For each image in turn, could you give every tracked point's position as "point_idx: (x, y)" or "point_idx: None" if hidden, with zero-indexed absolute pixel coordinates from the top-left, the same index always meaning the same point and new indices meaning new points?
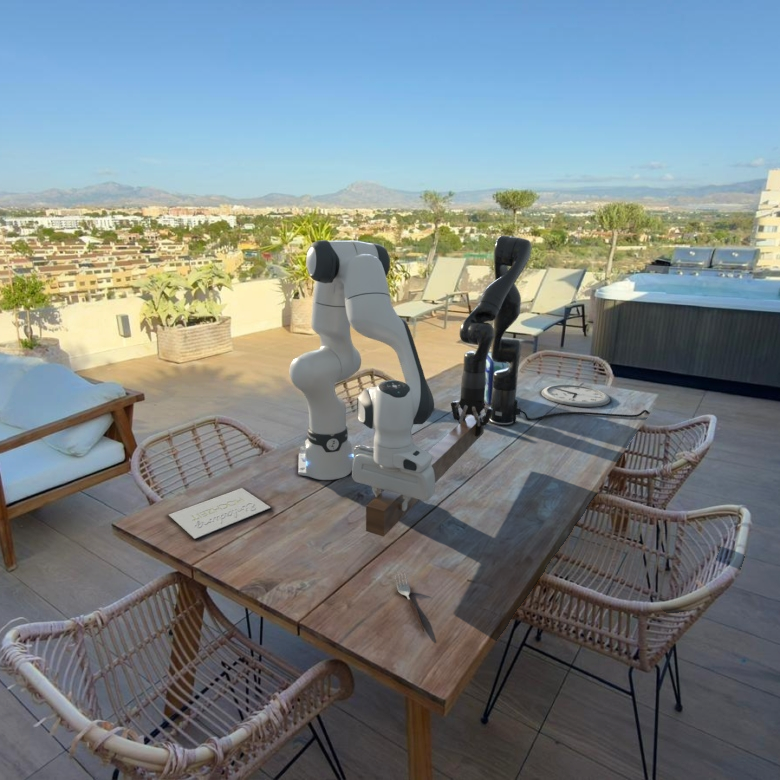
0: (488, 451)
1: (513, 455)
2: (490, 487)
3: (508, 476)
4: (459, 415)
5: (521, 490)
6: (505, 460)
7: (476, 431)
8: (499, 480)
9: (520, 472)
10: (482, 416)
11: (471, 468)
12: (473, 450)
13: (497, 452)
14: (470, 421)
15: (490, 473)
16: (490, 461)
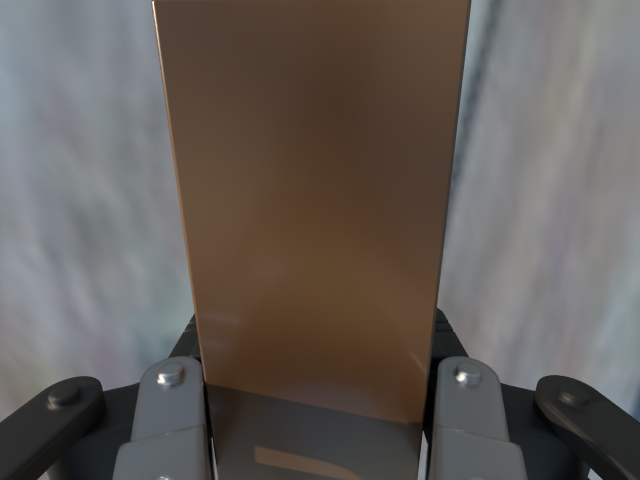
0: None
1: (592, 10)
2: None
3: (571, 319)
4: (82, 414)
5: (634, 409)
6: (541, 131)
7: None
8: (531, 373)
9: (636, 248)
10: (441, 127)
11: None
12: None
13: (471, 18)
14: (321, 441)
15: (479, 330)
16: (452, 194)
